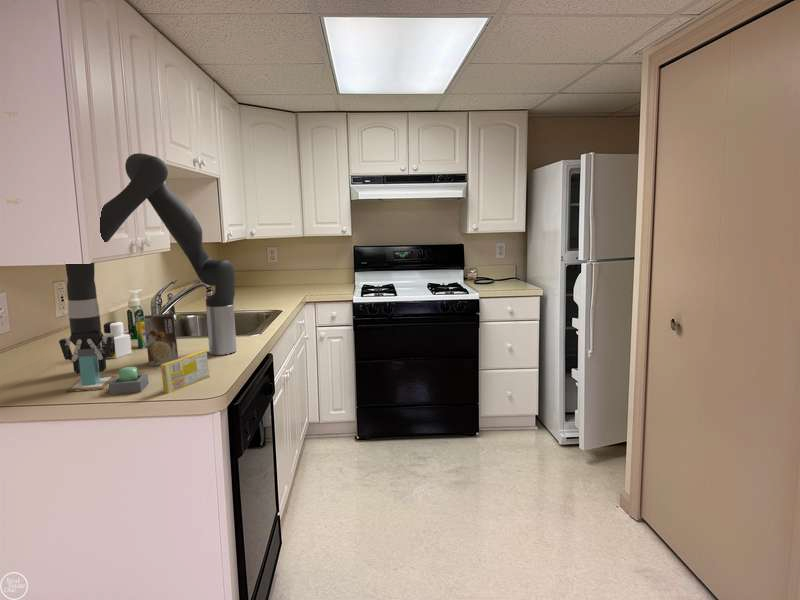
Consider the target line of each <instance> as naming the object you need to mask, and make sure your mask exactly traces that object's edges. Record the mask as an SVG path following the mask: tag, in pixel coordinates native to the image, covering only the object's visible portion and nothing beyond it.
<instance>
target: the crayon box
mask: <svg viewBox="0 0 800 600" xmlns="http://www.w3.org/2000/svg"><path fill="white" fill-rule="evenodd" d="M145 316H146V315H143V316H139V317H137V316H136V317H135V324H136V335H137V348H139V349H147V342H146V332H145V323H144V317H145Z"/></svg>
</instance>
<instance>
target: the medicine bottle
mask: <svg viewBox="0 0 800 600" xmlns="http://www.w3.org/2000/svg"><path fill="white" fill-rule="evenodd" d="M124 332H125V330H124V323H123V322H122V321H109V322H105V323H104V324H103V333H104V334H103V335H104V336H111V335H113V336H114V343H113V351H112V355H110V356H109V357H106V359H107V358H109V359H118V358H122V357H125V356H129V355H131V354H132V352H133V351H132V344H131V335H130V334H128V333H124ZM101 343H102V348H103V351H104V353H105V350H106V343H105V342H104V340H103V339H102V341H101Z"/></svg>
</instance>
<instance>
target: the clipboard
mask: <svg viewBox="0 0 800 600" xmlns="http://www.w3.org/2000/svg"><path fill="white" fill-rule="evenodd" d="M99 376H100V381H99V382H98V383H97V384H94V385H82V383H81V378H80V379H79V380H77V381H76V382H75V383H73V384H72V385H70V386H69V387H68V388H67V389H65V392H66V391H75V392H77V391H76V390H89V391H97V390H96V389H102V390H104V389H105V387H106V386H107V385H108V384H109V383H110V382H111V381H112V380H114V379H115V378H116V377H117V376H114V375H113V376H106V375H99ZM108 386H109V385H108ZM108 386H107V387H108ZM107 387H106V388H107ZM93 389H95V390H93Z"/></svg>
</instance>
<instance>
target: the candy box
mask: <svg viewBox="0 0 800 600" xmlns="http://www.w3.org/2000/svg"><path fill="white" fill-rule="evenodd" d="M207 352H208V351H207V350H200V351H197V352H194V353H191V354H188V355H185V356H182V357H178V359H176V360H173V361H170V362H167V363H164V364H161V365H160V370H161V379H162V388H163V393H164V394H170V393H172V392H175V391H177V390H179V389H180V390H181V389H183V388H185V387H188V386H189V385H192V384H196V383H197V382H200V381H203V380H206V379H207V377H208V378H210V371H209V370H210V369H209V362H208V353H207Z"/></svg>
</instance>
